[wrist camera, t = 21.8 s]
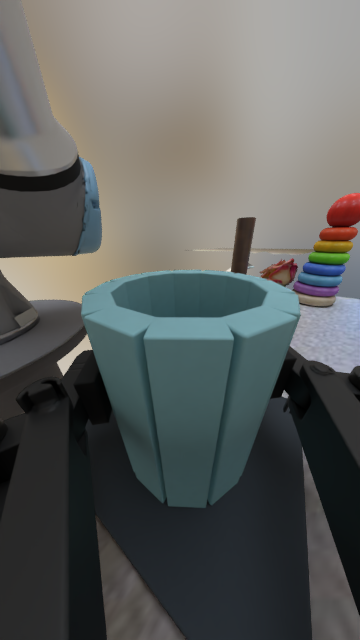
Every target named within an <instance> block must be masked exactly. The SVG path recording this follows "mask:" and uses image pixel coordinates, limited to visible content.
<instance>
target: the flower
mask: <svg viewBox="0 0 360 640" xmlns="http://www.w3.org/2000/svg"><path fill="white" fill-rule="evenodd" d="M293 262H294V259H293V258H292V259H290V260H289V261H287V262H285V260H283V261H282V260H281V261H280V262H279V263H277V264H274V265H271V266H270V267H268V268H267V269H265V270H263V271H262V272H260V273H263V275H261V277H262V278H264V279H267V280H271V281H273V282H275V283H277V284H279V285H281V286H284V287H285V286H286V285H289V283H291V282H292V281H293V280H294V277H295V274H296V272H297V268H298V266H297V264H296V263H295V264H294V263H293ZM295 271H296V272H295Z"/></svg>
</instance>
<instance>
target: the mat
mask: <svg viewBox="0 0 360 640" xmlns="http://www.w3.org/2000/svg"><path fill="white" fill-rule="evenodd" d="M286 401H287V398H284V397H282V396H281V397H280V398H273V399H270V400H269V403H268V405H267V408H266V411H265V413H264V416H263V419H262V422H261V424H260V427H259V430H258V432H257V435H256V438H255V440H254V443H253V446H252V449H251V451H250V454H249V457H248V459H247V462H246V465H245V468H244V470H243V473H242V476H240V478H239V481H238V483H237V484H236V485H234V486H233V487H232V488H231V489H230V490H229V491H228V492H226V493H225V494H224V495H223V496H222V497H221V498H220V499H219V500H217V501H216V502H215V503H214V504H213V505H210V504H209V501H208V499H207V504H206V508H194V507H174V506H168V503H167V497H166V499H165V501H164V503H162V502H161V501H159V500H158V499H157V498H156V497H155V496H154V495H153V494H152V493H151V492H150V491H149V490H148V489H147V488H146V487H145V486H144V485H143V484H142V483H141V482H140V481H139V480H138V479H137V477H136V474H135V472H134V471H133V468H132V465H131V462H130V459H129V456H128V453H127V450H126V447H125V444H124V442H123V439H122V436H121V433H120V430H119V427H118V424H117V421H116V418H115V415H114V412H113V409H112V412H111V416H110V420H109V423H104V424H97V425H92V424H91V422H90V420H89V419H88V422H87V424H86V427H85V428H86V431H87V433H88V444H89V454H90V465H91V476H92V486H93V497H94V507H95V514H96V515H97V516H98V518H99V519H100V520H101V522H102V523H103V525H104V526H105V527H106V529H107V530H108V532H109V533H110V534H111V536H112V537H113V538H114V540H115V541H116V543H117V544H118V545H119V547H120V548H121V549H122V551H123V552H124V554H125V555H126V556H127V558H128V559H129V560H130V562H131V563H132V565H133V566H134V567H135V569H136V570H137V571H138V573H139V574H140V576H141V577H142V578H143V580H144V581H145V582H146V584H147V585H148V587H149V588H150V589H151V591H152V592H153V593H154V595H155V596H156V598H157V599H158V600H159V602H160V603H161V604H162V606H163V607H164V609H165V610H166V611H167V613H168V614H169V615H170V617H171V618H172V620H173V621H174V622H175V624H176V625H177V626H178V628H179V629H180V631H181V632H182V633H183V635H184V636H185V637H186V639H187V640H312V627H311V608H310V589H309V570H308V550H307V531H306V512H305V493H304V473H303V454H302V444H301V441H300V438H299V435H298V432H297V429H296V426H295V424H294V421H293V418H292V415H291V414H290V413H289V411H290V409H289V407H288V409H287V411H286V412H283V407H284V405H285V403H286Z"/></svg>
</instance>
